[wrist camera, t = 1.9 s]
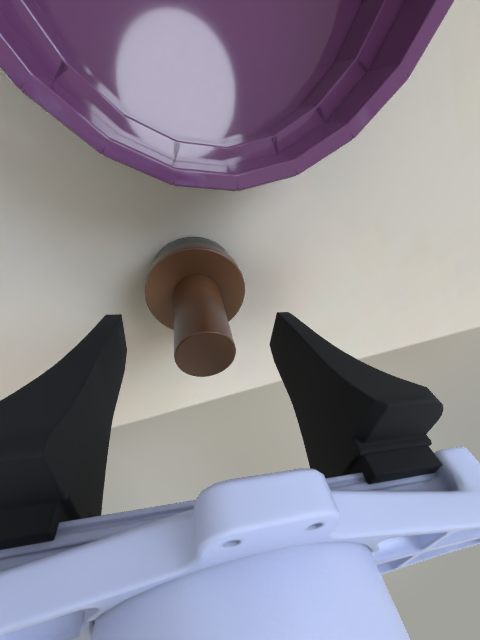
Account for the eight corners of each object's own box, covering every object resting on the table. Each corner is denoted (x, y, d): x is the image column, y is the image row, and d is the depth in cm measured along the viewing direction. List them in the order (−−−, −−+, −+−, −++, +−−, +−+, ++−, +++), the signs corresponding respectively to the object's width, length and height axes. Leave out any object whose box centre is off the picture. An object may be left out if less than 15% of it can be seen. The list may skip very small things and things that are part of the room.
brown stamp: (184, 327, 19) (189, 414, 14) (126, 266, 16) (103, 349, 10) (252, 286, 19) (288, 361, 13) (207, 213, 15) (229, 272, 10)
